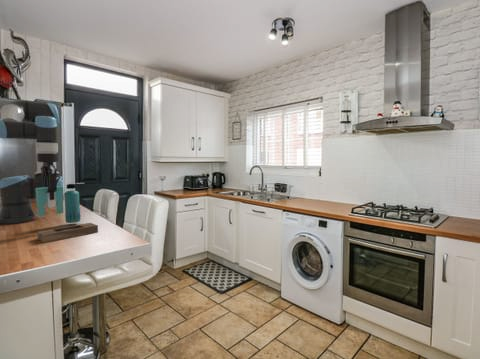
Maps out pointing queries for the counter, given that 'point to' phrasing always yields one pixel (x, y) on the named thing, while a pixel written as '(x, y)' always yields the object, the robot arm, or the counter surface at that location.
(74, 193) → the beverage bottle
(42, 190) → the notched teal block
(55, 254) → the counter surface
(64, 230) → the rail
